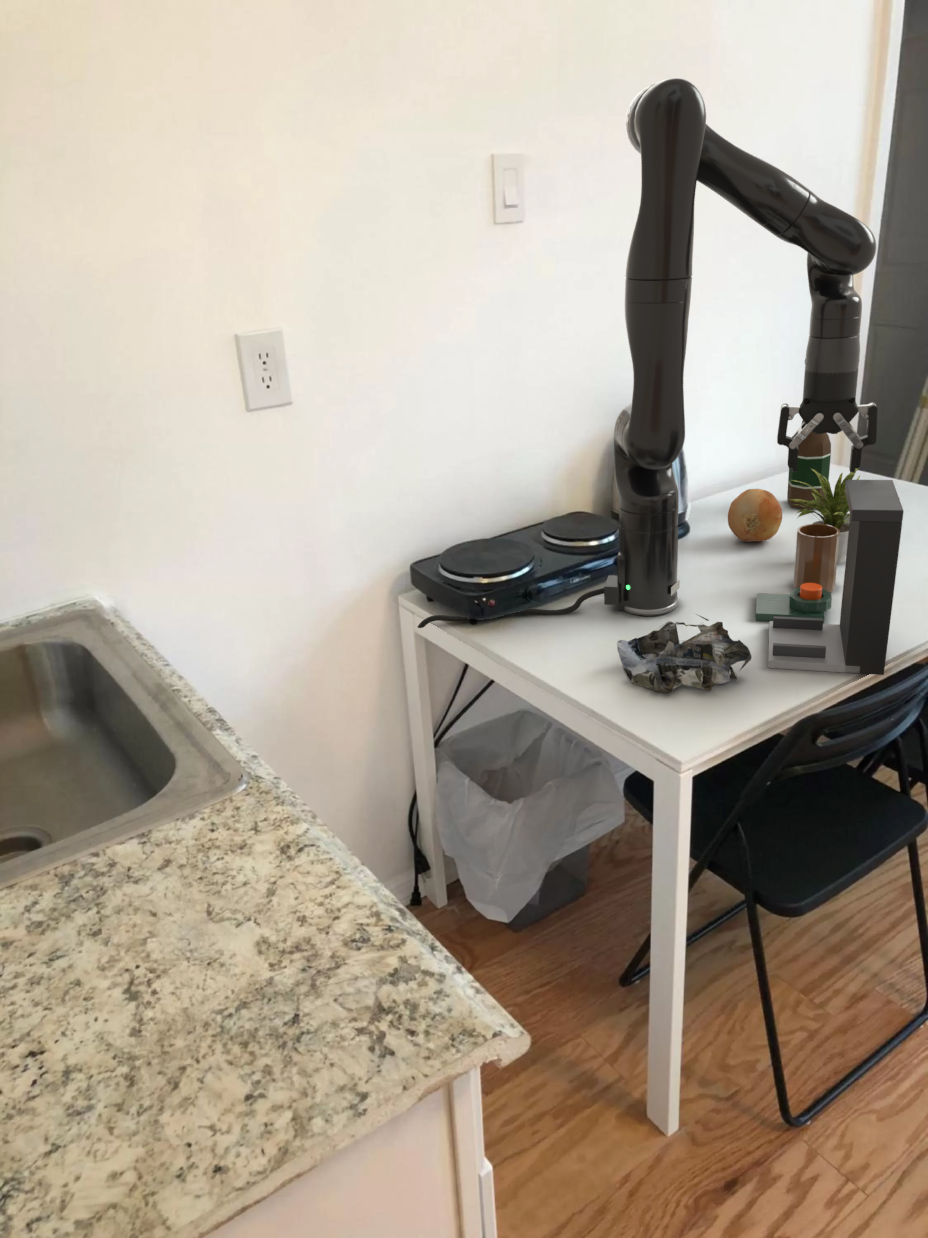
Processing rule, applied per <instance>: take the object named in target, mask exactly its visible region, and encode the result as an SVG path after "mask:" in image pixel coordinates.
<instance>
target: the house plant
mask: <svg viewBox="0 0 928 1238" xmlns="http://www.w3.org/2000/svg"><path fill="white" fill-rule="evenodd" d="M810 469H811V468H810ZM859 469H860V467H859V468H855V472H850V471H849V473H848V474H847V475H846V476H845V477H844V479H843V472H841V473H840V474H839V477H838V479H837V481H836V483H835V485H834V491H832V487H831V483H830V480H829V481H828V479H827V478H825V477H824V476H823V477H824V478H825V480H826V482H825V481H824V479H823V477H822V476H821V475H820V474H819V473H818V472H817V471H815V470H813V469H812V470H813V471H814V472H815V473H816V474H817V476H818V478H819V480H820V484H821V487H822V490H823V492H824V495H825V498H826V499H825V498H824V497H823V496H822V495H821V494H820V493H819V492H818V491H817V490H816V489H815V488H813V487H812V486H811V485H809V484H807V483H805V482H801V481H796V482H800V483H804V484H806V485H808V486H810V487H811V488H813V489H814V490H813V491H814V493H815V494H816V495H817V496H818V497H819V498H820V500H821V501H822V503H823V505H824V506H823V505H822V504H821V503H820V500H819V498H818V497H817V496H816V495H815V494H814V493H812V494H813V496H814V498H815V500H816V501H815V500H812V501H807V500H801V499H790V500H792V501H795V502H799V503H802V504H804V505H806V506H808V507H810V508H813V509H810V510H809V509H807V508H806V507H805V506H803V507H805V508H806V509H799V510H798V511H797V512H796V514H798V516H797V518H800V517H802V516H806V515H809V514H812V515H813V516H815V517H816V515H817V516H819V518H820V519H819V520H816V521H814V522H812V523H811V524H826V525H831V526H834V527H836V528H838V529H839V530H840V536H839V547H838V558H837V565H841V564H843V563H845V562H846V553H847V543H848V533H849V522H847V521H849V520H845V519H846V518H847V517H848V516H849V515H850V514H849V507H848V502H847V498H846V493H845V484H846V480H854V477H855V476H856V473H857V471H858V470H859ZM860 477H861V475H858V477H857V478H856V480H860ZM791 481H795V480H791ZM800 486H802V485H800ZM804 487H806V486H804ZM808 489H809V488H808ZM811 490H812V489H811ZM794 505H798V504H794ZM800 506H802V505H800ZM816 511H818V512H816ZM815 514H816V515H815ZM846 514H848V515H847V517H846V518H845V519H844V517H845V516H846ZM843 519H844V520H845V521H844V520H843Z"/></svg>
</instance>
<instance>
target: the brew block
mask: <svg viewBox="0 0 928 1238" xmlns="http://www.w3.org/2000/svg"><path fill="white" fill-rule="evenodd" d="M832 597H833V596H832V592H828V591H826V590H824V589H822V596H821V599H817V600H807V599H803V598H801V597H800V588H796V589H795V588H793V589H792V590H791V591H789V593H768V592H767V593H766V592H756V600H755V601H756V602H755V621H760V622H761V621H763V622H764V621H765V622H769V621H773V616H778V617H800V618H821V619H823V624H825V612H827V611H829V610H830V609H832V601H833V598H832Z"/></svg>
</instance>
